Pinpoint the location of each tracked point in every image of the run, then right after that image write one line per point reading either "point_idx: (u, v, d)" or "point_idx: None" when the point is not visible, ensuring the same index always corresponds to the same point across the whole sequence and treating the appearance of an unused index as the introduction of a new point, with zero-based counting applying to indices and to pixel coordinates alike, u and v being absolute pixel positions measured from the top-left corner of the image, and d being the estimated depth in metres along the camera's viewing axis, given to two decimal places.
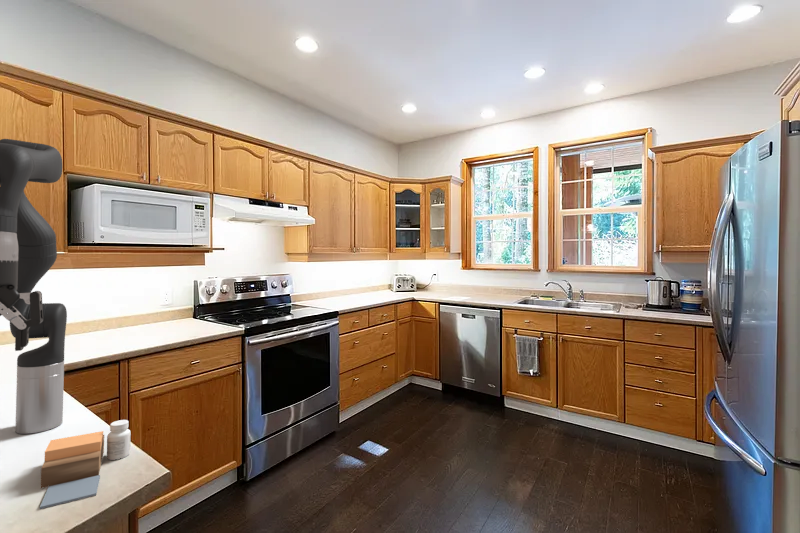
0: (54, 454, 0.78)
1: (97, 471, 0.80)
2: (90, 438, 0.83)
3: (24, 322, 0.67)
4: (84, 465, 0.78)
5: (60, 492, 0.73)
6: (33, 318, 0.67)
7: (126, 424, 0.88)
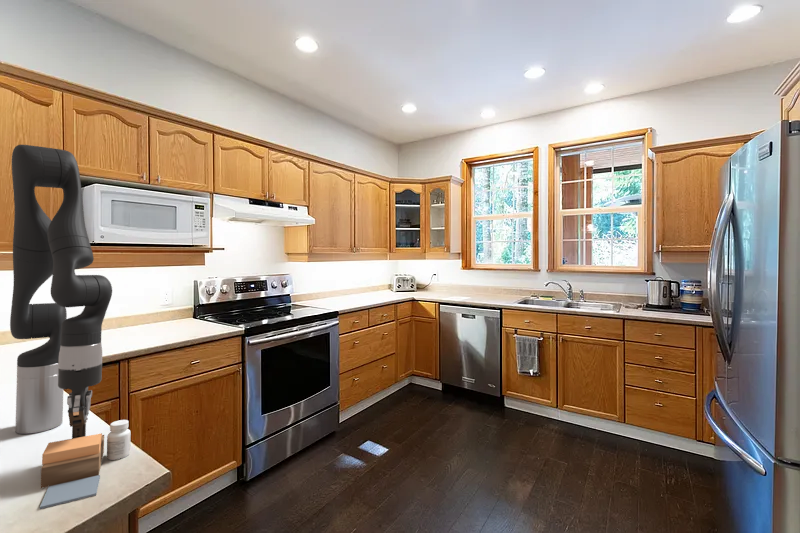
0: (52, 457, 0.77)
1: (97, 471, 0.80)
2: (88, 440, 0.82)
3: (85, 416, 0.86)
4: (84, 465, 0.78)
5: (60, 492, 0.73)
6: None
7: (126, 424, 0.88)
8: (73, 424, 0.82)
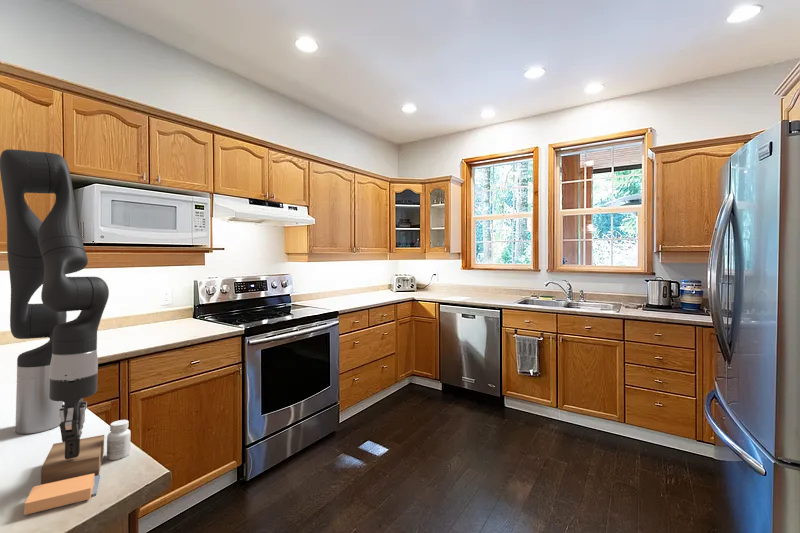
0: None
1: (97, 471, 0.80)
2: None
3: (79, 429, 0.80)
4: (84, 465, 0.78)
5: None
6: None
7: (126, 424, 0.88)
8: (66, 439, 0.75)
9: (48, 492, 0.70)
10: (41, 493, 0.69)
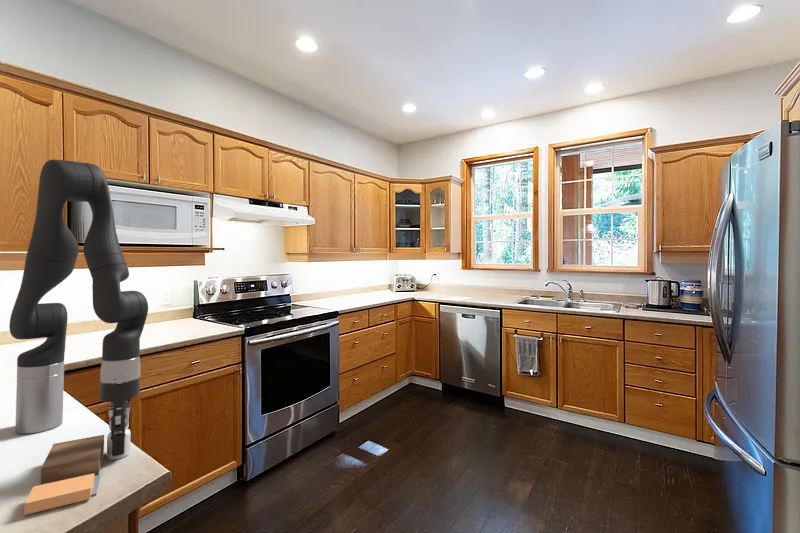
0: None
1: (97, 471, 0.80)
2: None
3: None
4: (84, 465, 0.78)
5: None
6: None
7: None
8: (114, 438, 0.83)
9: (48, 492, 0.70)
10: (41, 493, 0.69)
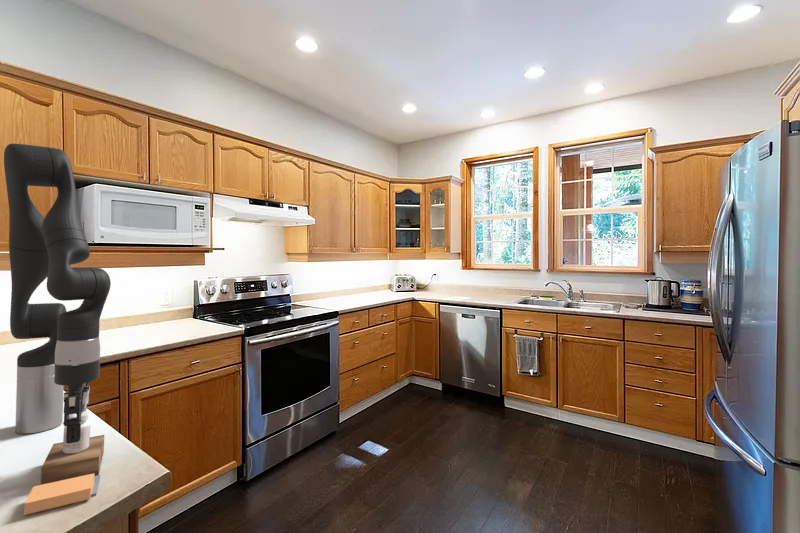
0: None
1: (97, 471, 0.80)
2: None
3: None
4: (84, 465, 0.78)
5: None
6: None
7: (85, 416, 0.82)
8: (67, 424, 0.77)
9: (48, 492, 0.70)
10: (41, 493, 0.69)
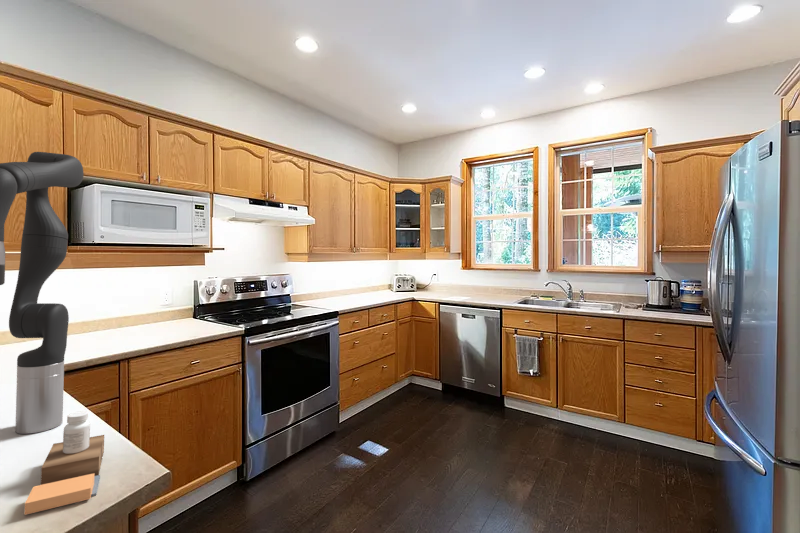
0: None
1: (97, 471, 0.80)
2: None
3: None
4: (84, 465, 0.78)
5: None
6: None
7: (85, 415, 0.83)
8: None
9: (48, 492, 0.70)
10: (41, 493, 0.69)
